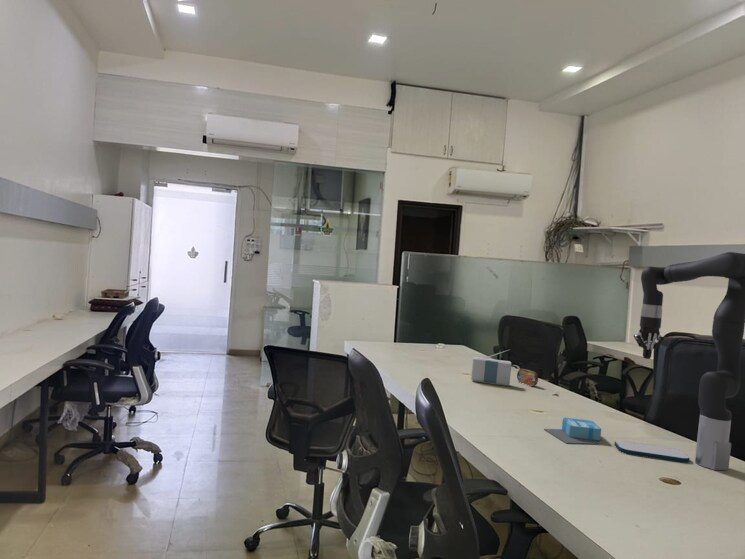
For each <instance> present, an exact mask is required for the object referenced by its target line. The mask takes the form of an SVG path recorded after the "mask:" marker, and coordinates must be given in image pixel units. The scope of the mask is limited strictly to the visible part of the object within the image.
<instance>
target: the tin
mask: <svg viewBox="0 0 745 559" xmlns="http://www.w3.org/2000/svg"><path fill="white" fill-rule="evenodd" d="M516 373H517V374H516V379H517V381H518V382H519V383H520V382H521V383H520V384H522V383H524V384H523V385H525V384H527V385H526V386H528V385H529V386H528V387H536V386H537V385H538V382H539V375H538V374H537V372H536V371H533V370H530V369H525V368H520V369H519V370H518V371H517V372H516Z"/></svg>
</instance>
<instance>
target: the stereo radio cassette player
mask: <svg viewBox="0 0 745 559" xmlns="http://www.w3.org/2000/svg"><path fill="white" fill-rule="evenodd" d="M510 350H511V349H507V350H503V351H502V352H498V353H495V354H492V355H488V356H486V357H480V356H479V357H478V356H475V357H473V359H472V366H471V374H470V375H471V377H470V379H471V381H472V382H478V383H483V384H484V383H485V384H492V385H498V386H502V387H503V386H504V387H508V386H510V383H511V382H510V381H511V372H512V362H511V361H510V360H501V359H494V358H491V357H494V356H496V355H499V354H502V353H505V352H507V351H510Z"/></svg>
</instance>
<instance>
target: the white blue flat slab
mask: <svg viewBox="0 0 745 559" xmlns="http://www.w3.org/2000/svg"><path fill="white" fill-rule="evenodd" d="M615 446H616V447H615ZM614 447H615V448H616V449H617V450H618V451H619V452H620V451H621V452H620V453H622V452H623V453H622V454H625V453H626V455H630V454H631V455H632V456H636V455H637V457H643V456H644V458H650V457H651V458H650V459H656V460H657V459H658V460H665V461H670V462H675V463H676V462H678V463H684V464H685V463H689V462H690V457H689V456H688V455H687V454H686V453H685V452H684V451H682V450H680V449H677V448H673V447H669V446H668V447H667V446H663V445H662V446H661V445H654V444H648V443H642V442H641V443H640V442H635V441H634V442H633V441H627V440H620V439H619V440H617V439H616V440H615V441H614Z"/></svg>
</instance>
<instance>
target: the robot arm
mask: <svg viewBox="0 0 745 559" xmlns="http://www.w3.org/2000/svg"><path fill="white" fill-rule="evenodd" d="M704 277H716V278H717V277H718V278H725V279H728V282H727V289H726V292H725V295H724V297H723V299H722V301H721V302H720V304H719V305H718V306H717V308H716V310H715V312H714V315H713V320H712V326H711V327H712V329H711V335H712V339H713V342H714V346H715V349H716V352H717V355H718V356H717V358H718V360H717V367H716V371H707V372H705V373H704V374H703V375H702V376H701V377H700V381H699V386H698V407H699V421H698V430H697V437H696V438H697V439H696V445H695V446H696V447H695V456H694V457H695V458H694V463H695V464H697V465H699V466H701V467H704V468H707V469H710V470H712V471H729V468H730V459H731V450H732V442H730V433H731V426H732V425H731V424H732V416H733V414H732V412H731V411H730V410H729V409H727V407H726V399H731V398H734V397H736V395H737V394H738V393H739V392H740V387H741V359H742V358H741V356H742V349H743V340H744V335H745V334H744V333H745V253H742V252H734V251H728V252H724V253H721V254H717V255H714V256H711V257H708V258H704V259H699V260H695V261H688V262H680V263H674V264H670V265H667V266H665V267H657V266H647V267H645V268H644V269H643V270H642V271H641V275H640V281H641V286H642V287H641V288H642V292H643V299H642V306H641V309H640V318H639V319H640V320H639V327H640V329H639V330H638V333H637V334H633V338H634V340H635V341H636V343H637V345H638V347H639V348H642V349H643V350H642V357H643V359H646V360H651V358H652V355H653V354H652V352H653V350H654V349H655V350H656V349H657V348H659V346H660V344H662V342H663V341H664V340H665V337H664V336H662V335H661V334H660V333H661V332H660V329H661V328H662V318H663V302H664V293H663V292H662V291H661V290H658V286H657V285H659V286H662V285H669V284H673V283H680V282H681V283H682V282H688V281H694V280H696V279H700V278H704Z"/></svg>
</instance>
